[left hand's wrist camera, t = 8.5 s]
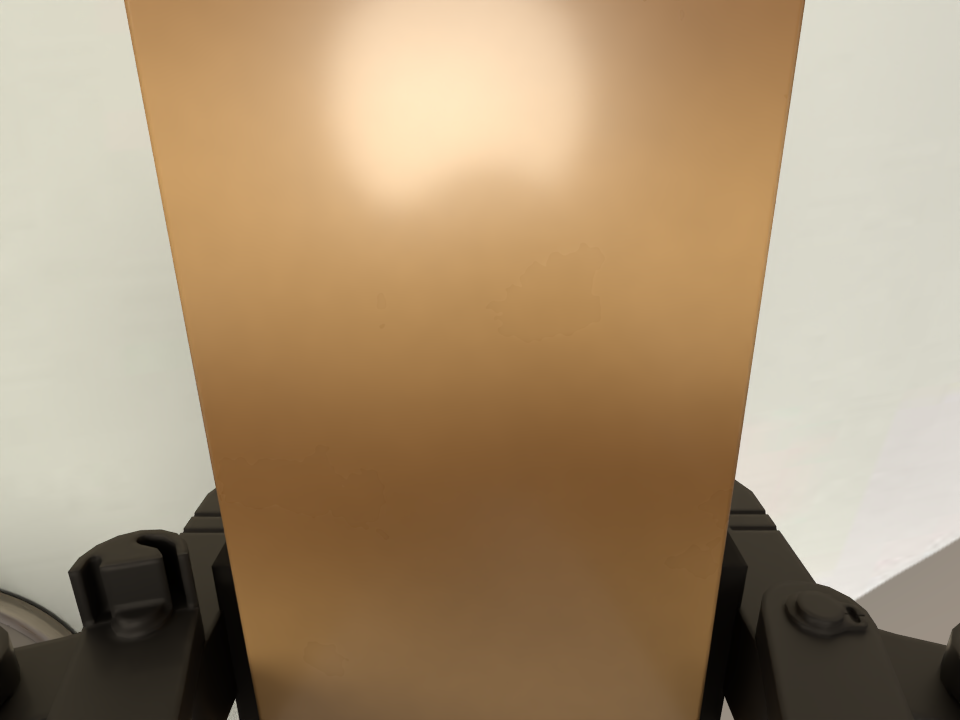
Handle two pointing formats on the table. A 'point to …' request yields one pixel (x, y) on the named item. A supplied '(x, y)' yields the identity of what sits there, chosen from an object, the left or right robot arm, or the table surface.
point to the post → (471, 334)
